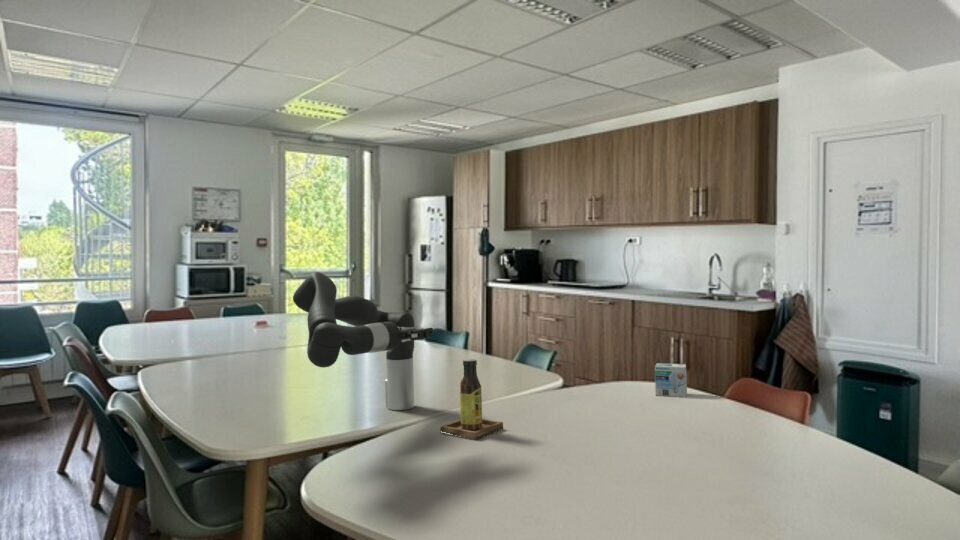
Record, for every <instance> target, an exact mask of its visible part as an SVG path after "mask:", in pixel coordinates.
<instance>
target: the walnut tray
mask: <svg viewBox="0 0 960 540" xmlns="http://www.w3.org/2000/svg"><path fill="white" fill-rule="evenodd" d="M439 429H440V431H442V432H446V433H450V434H453V435H457V436H461V437H460V438H462V437H465V438H464V439H467V438H469V440H472V439H473V441H478V440H480V439H483V438H484V436H485V437H488V436H490V435H491V434H492V435H493V434H495V433H497V432H500V431H502V430H503V429H504V421H498V420H492V419H485V418H482V428H481V429H478V430H473V431H470V430H464V429H462V427H461V418H460V419H457V420H455V421H451V422H449V423H446V424H443V425H440V428H439ZM501 429H502V430H501ZM499 430H500V431H499ZM494 432H495V433H494ZM489 434H490V435H489ZM487 435H488V436H487ZM457 436H456V437H457ZM482 437H483V438H482Z"/></svg>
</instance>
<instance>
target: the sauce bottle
mask: <svg viewBox="0 0 960 540" xmlns="http://www.w3.org/2000/svg"><path fill="white" fill-rule="evenodd" d="M477 362H478V361H477V359H463V360H462V365H463V377H462V378H461V381H460V384H459V389H460V390H459V391H460V392H459V400H460V401H459V403H460V406H459V407H460V419H461V427H462V429H464V430H470V431H473V430H478V429H481V428H482V419H483V406H482V405H483V401H482V400H483V399H482V398H483V397H482V385H481V383H480V380H479V378H478V373H477V365H478V363H477Z"/></svg>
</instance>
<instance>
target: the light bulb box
mask: <svg viewBox="0 0 960 540" xmlns="http://www.w3.org/2000/svg"><path fill="white" fill-rule="evenodd" d="M687 379H688V378H687V365H686V363H661V362H660V363H659V362H658V363H656V364H655V366H654V384H655V386H654V388H655V396H657V397H659V396H660V397H676V398H678V397H679V398H686V397H687V395H688V386H687V383H688V382H687V381H688V380H687Z"/></svg>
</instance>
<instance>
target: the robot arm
mask: <svg viewBox="0 0 960 540" xmlns="http://www.w3.org/2000/svg"><path fill="white" fill-rule="evenodd" d="M337 290H338V289H337V286H336V283H335V282H334V281H333V280H332V279H331V278H330V277H329V276H327V275H326V274H324V273H322V272H319V271H314V272H312V273H310V274H309V275H308V276H307V277H306V278H305V279H304V281H303V282H302V283H301V284H300V285H299V287H298V288H297V289H296V291H295V292H294V294H293V296H292V299H293V303H294V305H295V306H297V307H298V308H299V309H300V310H302V311H303V312H306V313H308V315H307V321H306V322H307V328H308V339H307V347H306V348H307V353H306V354H307V358H308V360H309V361H310V362H311V363H312V365H314V366H316V367H318V368H329V367H332V366H333V365H334V364H335V363H336V362H337V360H338V358H339V355H340V351H341V350H342V352H343V353H344V354H346V355H349V356H355V355H362V354H369V353H370V354H371V353H380V352H385V351H386V353H385V355H386V357H385V358H386V379H385V382H384V384H385V385H384V387H385V407H386V408H387V409H388V410H391V411H392V410H393V411H404V410H409V409H413V408H414V407H415V385H414V384H415V383H414V382H415V381H414V350H415V349H414V348H415V341H418V340H419V341H420V340H427V339H429V337H432V336H434V328H433V327H427V328H423V327H422V328H417V327H416V326H415V320H414V317H413V315H412V314H411V313H410V312H393V311H391V312H389V311H387V312H385V311H383V310H378V307H377V305H376V304H375V303H374V302H373V301H371V300H370V299H367V298H364V297H362V296H359V295H347V296H343V297H339V298H337ZM337 320H338V321H340V322H343V323H346V324H348V325H351V326H348V325H341V324H337Z"/></svg>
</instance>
